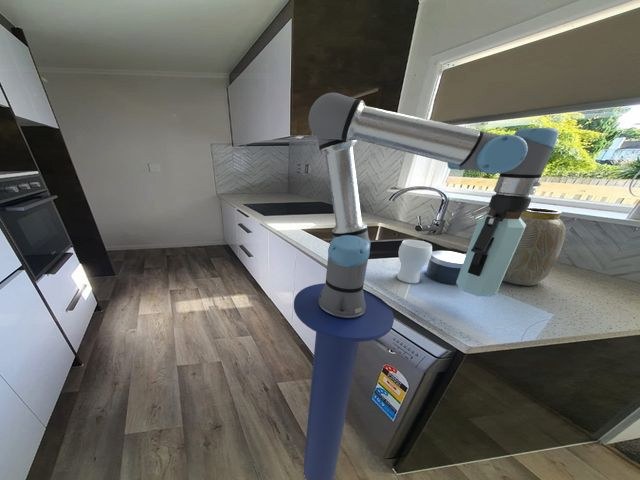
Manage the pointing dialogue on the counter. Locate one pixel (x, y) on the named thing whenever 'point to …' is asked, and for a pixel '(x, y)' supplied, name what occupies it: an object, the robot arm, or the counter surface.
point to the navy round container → (445, 266)
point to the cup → (413, 259)
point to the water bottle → (492, 255)
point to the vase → (536, 247)
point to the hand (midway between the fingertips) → (482, 270)
